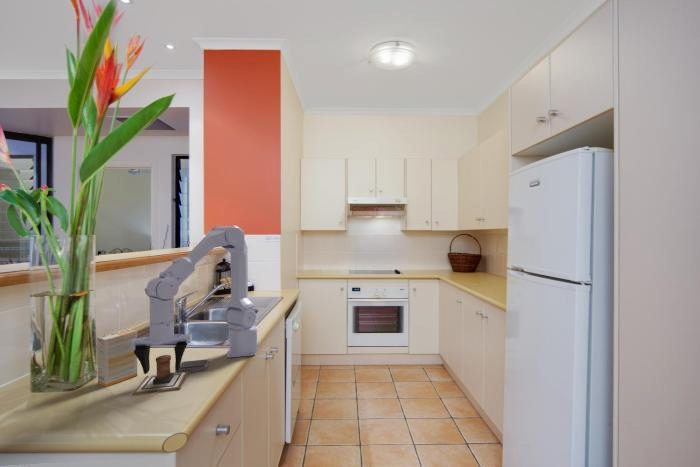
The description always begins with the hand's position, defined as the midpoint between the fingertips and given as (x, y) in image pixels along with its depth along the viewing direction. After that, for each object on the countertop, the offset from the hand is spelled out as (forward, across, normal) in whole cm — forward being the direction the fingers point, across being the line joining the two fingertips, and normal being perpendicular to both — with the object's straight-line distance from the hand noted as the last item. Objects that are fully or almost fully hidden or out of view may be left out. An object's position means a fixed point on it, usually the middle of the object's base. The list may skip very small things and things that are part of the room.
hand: (162, 370), depth 88 cm
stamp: (+3, 0, 0) cm, 3 cm away
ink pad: (+3, +6, +9) cm, 11 cm away
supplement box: (+4, -13, +6) cm, 15 cm away
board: (+3, 0, 0) cm, 3 cm away
